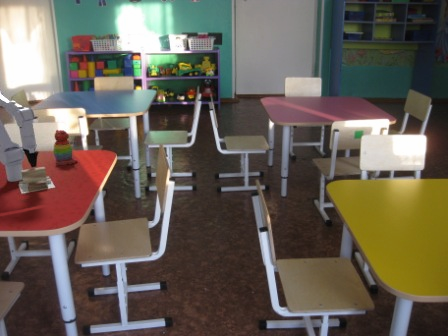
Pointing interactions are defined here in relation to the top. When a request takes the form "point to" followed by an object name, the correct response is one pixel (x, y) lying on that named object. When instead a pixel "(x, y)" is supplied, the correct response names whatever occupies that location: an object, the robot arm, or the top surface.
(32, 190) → the offcut bottom
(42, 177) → the birch sheet
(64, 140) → the stacking bear
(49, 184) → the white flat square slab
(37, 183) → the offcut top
